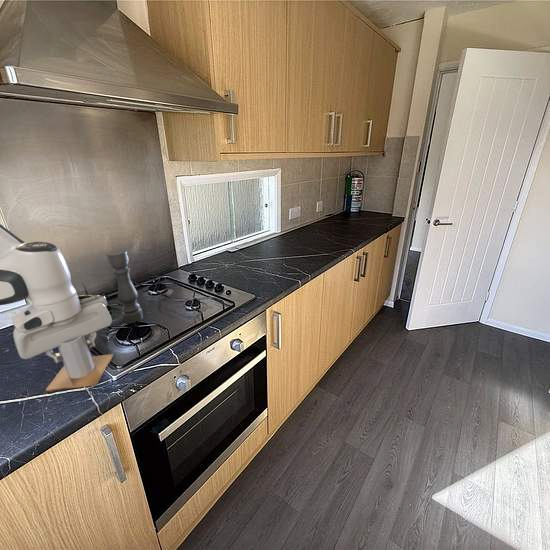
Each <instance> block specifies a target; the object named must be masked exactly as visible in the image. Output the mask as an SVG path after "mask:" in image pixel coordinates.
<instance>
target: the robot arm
mask: <svg viewBox="0 0 550 550" xmlns="http://www.w3.org/2000/svg"><path fill="white" fill-rule="evenodd" d="M78 296H79V295H78V292H77V290H76V288H75V287H74V285H73V284H72V275H71V271H70V269H69V266H68V263H67V261H66V259H65V257H64V255H63V253H62V251H61V250H60V248H59V247H57V245H56V244H53V243H51V242H46V241H30V242H29V241H28V242H25V240H22V239H21V238H20V237H18V236H17V235H15V234H14V233H13V232H12V231H11V230H9V229H8V228H6V227H5V226H4V225H2V224H1V223H0V306H5V305H10V304H15V303H18V302H21V301H24V300H29V301H30V302H31V304H30V305H29V306H28V307H26V308H25V309H22V310H20V311H19V312H17V313H15V314H14V315H13V316H12V318H11V322H12V325H13V326H14V328H13V333H12V335H13V341H14V345H15V349H16V351H17V353H18V355H19V358H21V359H24V360H29V359H32V358H34V357H37V356H39V355H41V354H43V353H44V354H45V355H46V356H47V357H50V358H52V359H53V360H54V363H56V364H58V363H61V362H63V361H62V360H63V359H62V357H61V355H60V353H59V352H57V353H55V352H54V349H56V348H57V347H59V346H61V343H66V342H70V341H73V340H75V339H77V338H78V337H80V336H81V335H83V336H85V337H86V336H88V335H89V337H88V339H86V341H87V344H88V347H89V350H91V349H92V348H95V347H96V343H95V340H96V338H97V332H98V331H100V330H102V329H105V328H107V327H109V326H112V325H111V324H112V323H113V319H112V316H111V314H110V311H109V310H108V308H107V307H108V300H107V297H105V296H104V295H99V294H94V295H93V296H92V297H90V298H85V299H82V300H79V298H78Z"/></svg>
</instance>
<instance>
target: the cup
mask: <svg viewBox="0 0 550 550" xmlns="http://www.w3.org/2000/svg"><path fill="white" fill-rule="evenodd" d="M56 348H57V351H58V353H60V355H61V357H62V359H63V360H62V361H61V362H62V363H63V366H65V369H66V371H67V374H68V376H69V377H70V378H73V379H75V378H81V377H84V376H86V375H88V374H89V373H91V372H92V371H93V370H94V368H95V365H94V362H93V359H92V353H91V349H89V347H88V344H87V339H86V335H85V336H83V335H81V336H80V337H78V338H77V339H75V340H73V341H70V342H66V343H61V346H59V347H56Z"/></svg>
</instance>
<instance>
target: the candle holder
mask: <svg viewBox="0 0 550 550" xmlns="http://www.w3.org/2000/svg"><path fill="white" fill-rule="evenodd" d="M106 256H107V260H108V264H109V265H110V266H111V267H112V268H113V270H112V274H113V275H114V276H115V277H116V281H117V299H118V301H119V302H120V303H121V304H122V305H123V306H122V308H121V311H122V313H121V314H122V319H123V322H124V323H125V324H127V325H130V324H129V323H134V324H136V323H135V322H136V321H138V322H137V323H140V322H141V321H143V319H144V314H143V309H142V307H141V306H140V304H139V303H138V301H137V299H138V296H139V294H138V291H137V289H136V288H135V286H134V284H133V282H132V280H131V276H130V271H131V268H130V267H128V264H129V256H128V251H127V249H115V250H110V251H109V252H107V253H106Z"/></svg>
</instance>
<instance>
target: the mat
mask: <svg viewBox="0 0 550 550" xmlns="http://www.w3.org/2000/svg"><path fill="white" fill-rule="evenodd" d="M91 356H92V355H91ZM113 357H114V354H113V353H111V354H102V355H93V356H92V359H93V362H94V365H95V368H94V370H93V371H92V372H91V373H89V374H88V375H86V376H84V377H81V378H75V379H73V378H70V377H69V376H68V374H67V371H66V369H65V366H64V365H63V366H62V367H61V369H60V370H59V371H58V373H57V374H56V375H55V377H54V378H53V379H52V381H51V382H50V383H49V385H48V386H47V387H46V388H45V392H54V391H62V390H69V389H78V388H87V387H93V386H95V387H96V386H98V384H99V383H100V381H101V379H102V377H103V375H104V373H106V372H105V371H106V370H107V368H108V366H109V365H108V364H111V361H112V359H113ZM106 367H107V368H106Z"/></svg>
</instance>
